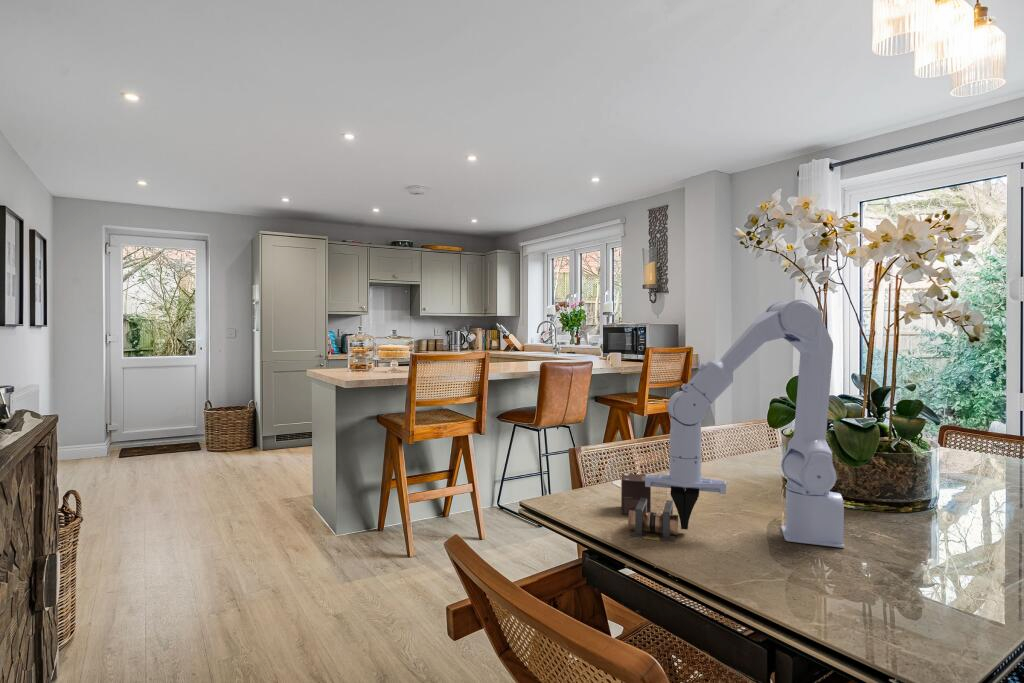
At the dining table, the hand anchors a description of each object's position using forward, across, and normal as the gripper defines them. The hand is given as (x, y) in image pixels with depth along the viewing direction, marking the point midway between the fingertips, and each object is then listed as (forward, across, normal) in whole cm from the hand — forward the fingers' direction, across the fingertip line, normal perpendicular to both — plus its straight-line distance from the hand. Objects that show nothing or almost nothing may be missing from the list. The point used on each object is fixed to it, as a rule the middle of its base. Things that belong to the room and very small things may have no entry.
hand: (684, 527), depth 110 cm
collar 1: (+1, +8, 0) cm, 8 cm away
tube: (+1, +6, 0) cm, 6 cm away
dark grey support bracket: (+1, +3, 0) cm, 3 cm away
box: (+2, +10, -11) cm, 15 cm away
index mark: (+1, +6, +5) cm, 7 cm away
